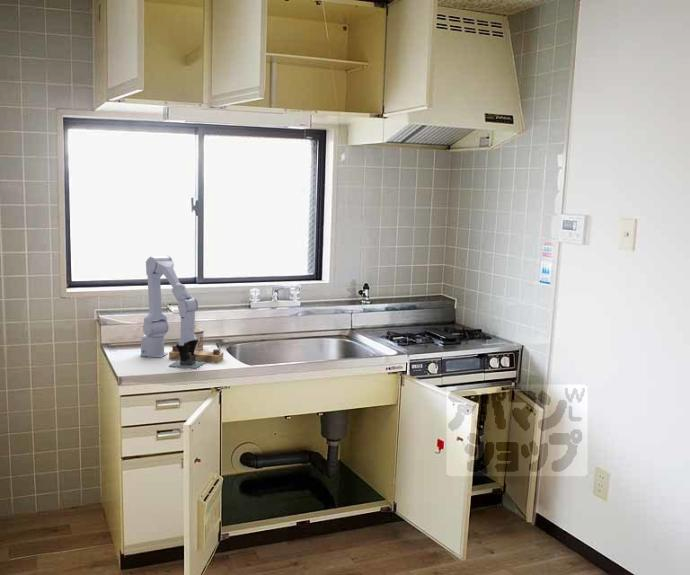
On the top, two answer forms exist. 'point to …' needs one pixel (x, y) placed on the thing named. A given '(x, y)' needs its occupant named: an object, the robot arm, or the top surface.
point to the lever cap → (188, 360)
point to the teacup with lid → (199, 338)
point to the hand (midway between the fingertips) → (187, 358)
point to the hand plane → (199, 355)
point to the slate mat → (194, 366)
